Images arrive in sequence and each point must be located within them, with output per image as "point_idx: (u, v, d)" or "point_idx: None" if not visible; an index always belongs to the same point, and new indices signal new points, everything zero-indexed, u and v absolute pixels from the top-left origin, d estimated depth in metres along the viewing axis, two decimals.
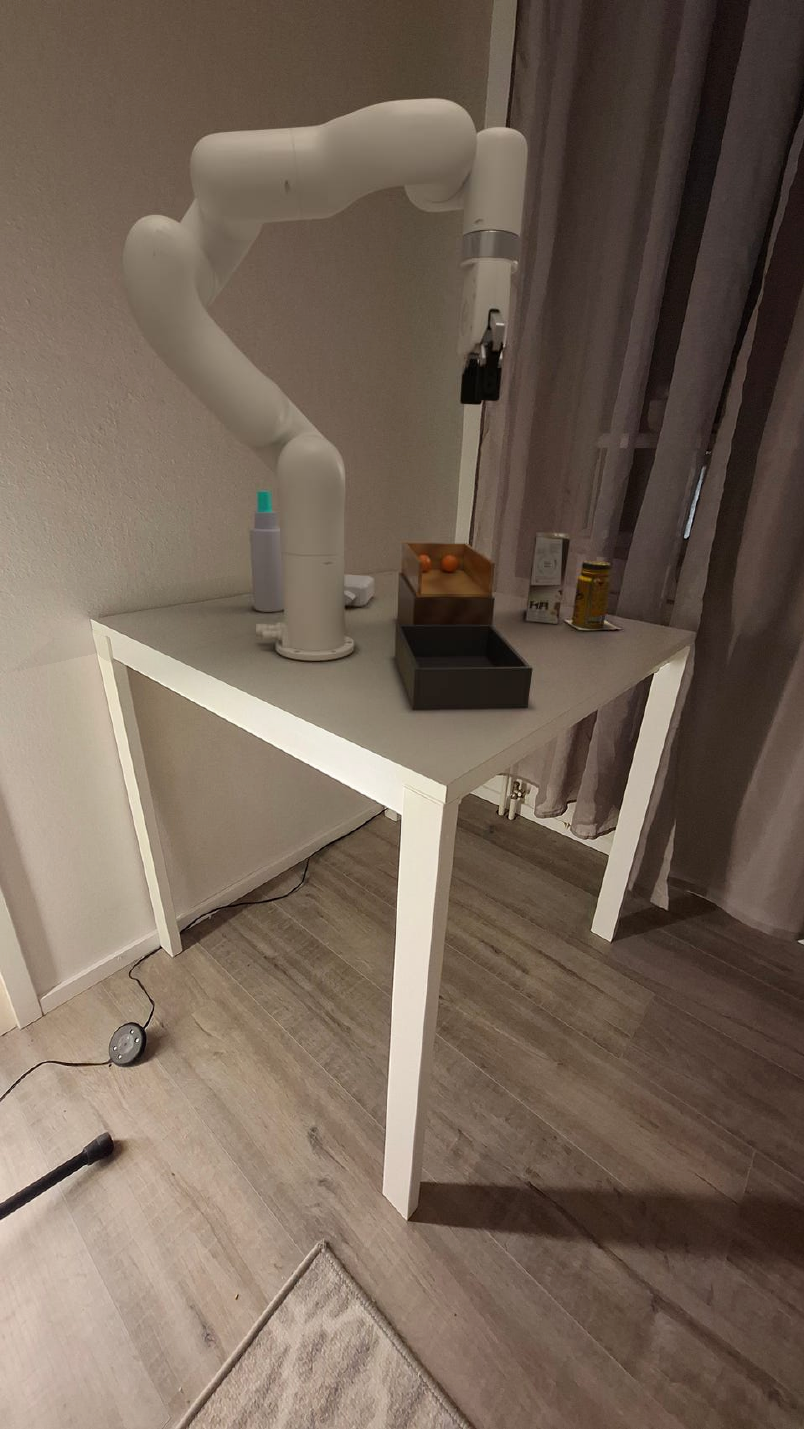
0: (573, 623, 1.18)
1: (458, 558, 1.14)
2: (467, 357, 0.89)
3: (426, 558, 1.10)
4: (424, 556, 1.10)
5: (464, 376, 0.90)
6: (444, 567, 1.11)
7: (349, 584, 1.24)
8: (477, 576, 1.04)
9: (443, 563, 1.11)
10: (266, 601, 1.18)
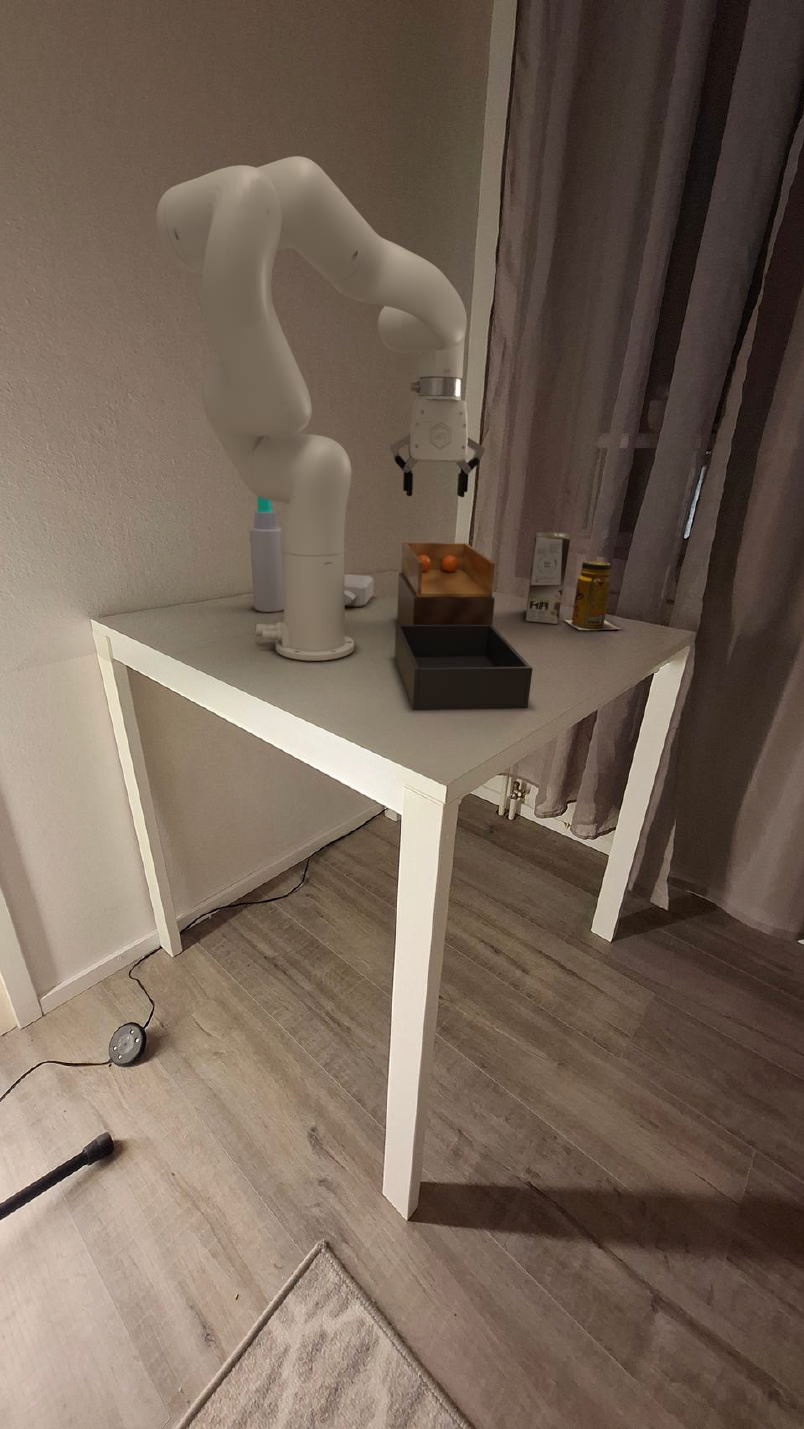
0: (573, 623, 1.18)
1: (458, 558, 1.14)
2: None
3: (426, 558, 1.10)
4: (424, 556, 1.10)
5: (412, 475, 1.10)
6: (444, 567, 1.11)
7: (349, 584, 1.24)
8: (477, 576, 1.04)
9: (443, 563, 1.11)
10: (266, 601, 1.18)
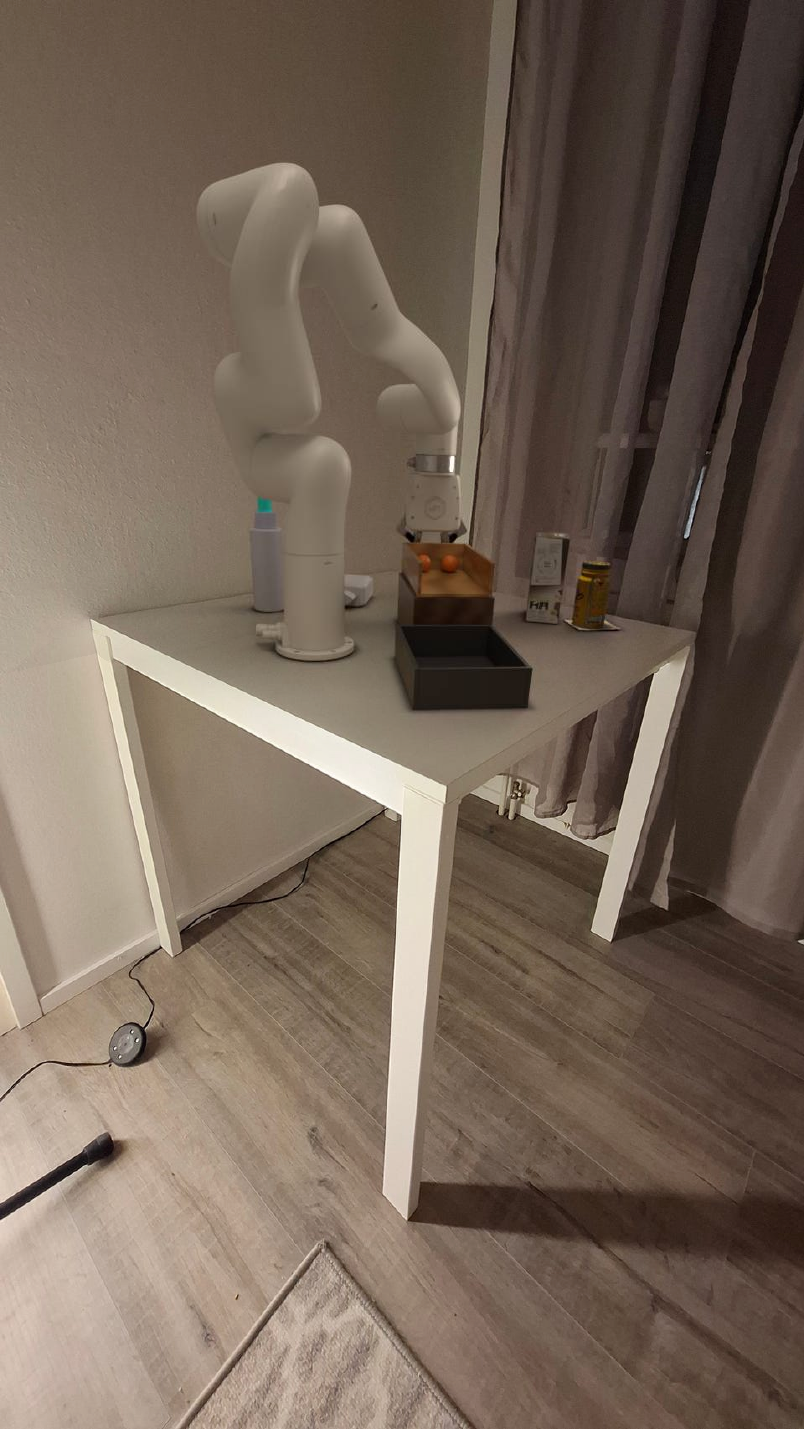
0: (573, 623, 1.18)
1: (458, 558, 1.14)
2: None
3: (426, 558, 1.10)
4: (424, 556, 1.11)
5: None
6: (444, 567, 1.11)
7: (349, 584, 1.24)
8: (477, 576, 1.04)
9: (443, 563, 1.11)
10: (266, 601, 1.18)
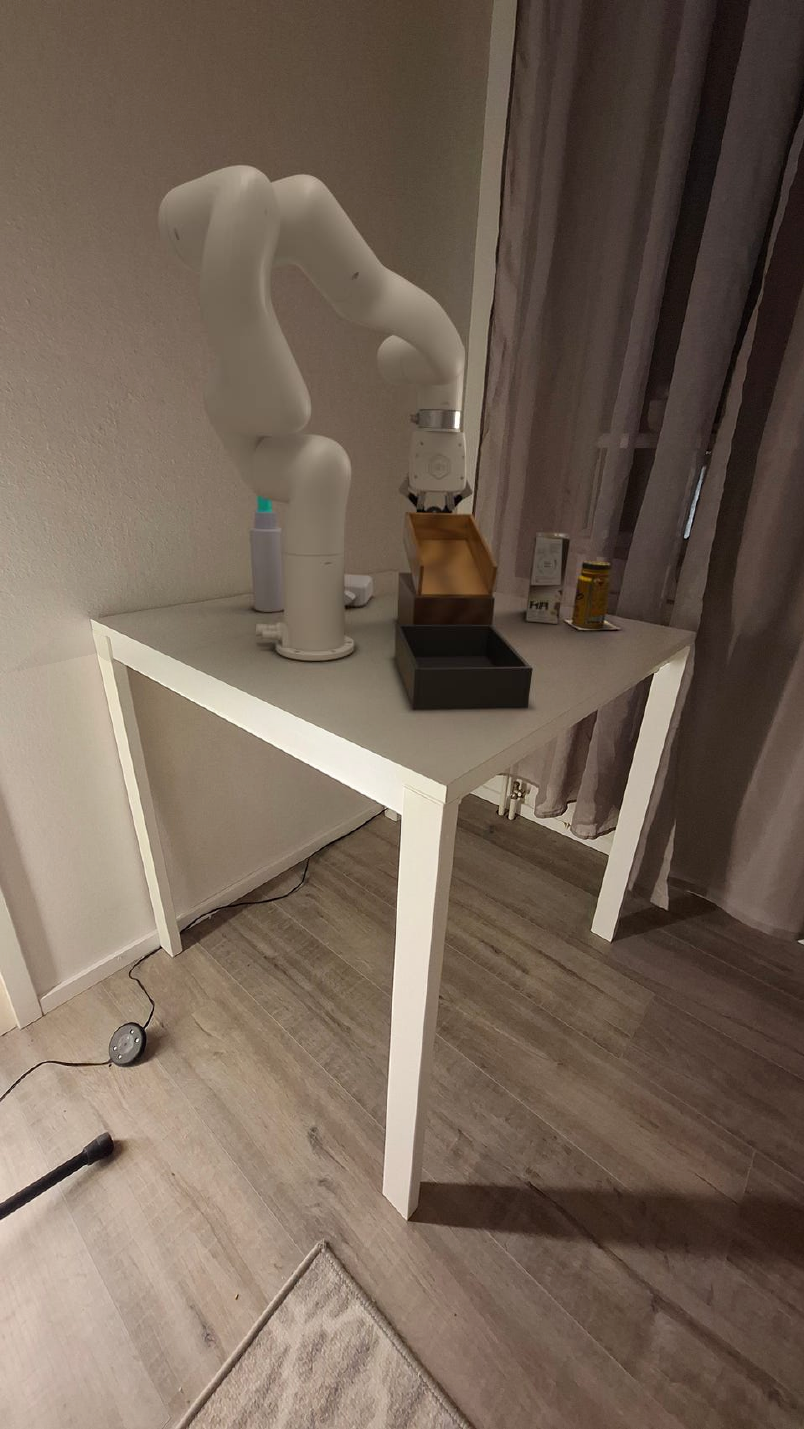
0: (573, 623, 1.18)
1: (462, 529, 1.10)
2: None
3: None
4: None
5: (425, 512, 1.11)
6: None
7: (349, 584, 1.24)
8: (479, 564, 1.02)
9: None
10: (266, 601, 1.18)
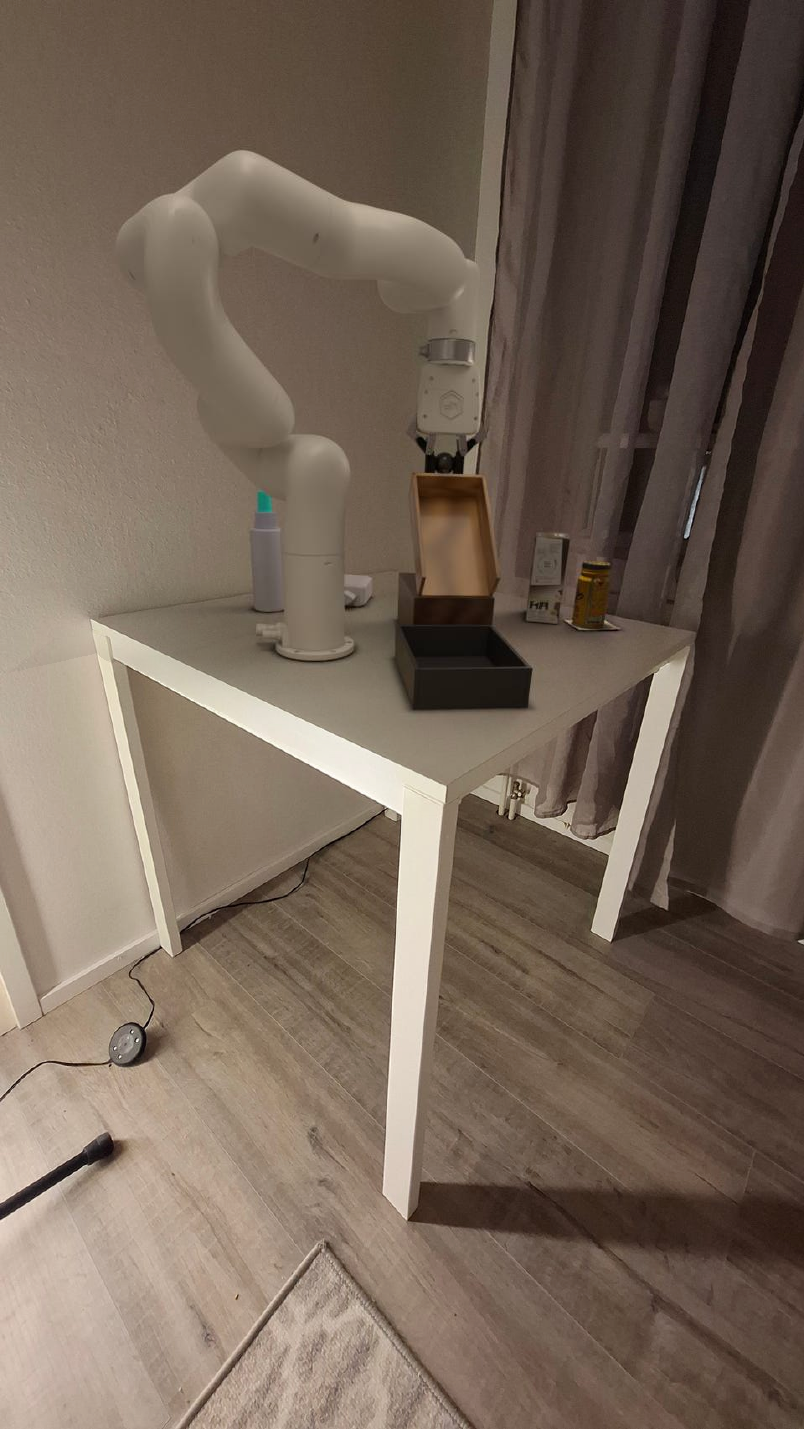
0: (573, 623, 1.18)
1: (473, 489, 1.02)
2: None
3: None
4: None
5: (435, 457, 1.01)
6: None
7: (349, 584, 1.24)
8: (485, 550, 0.99)
9: None
10: (266, 601, 1.18)
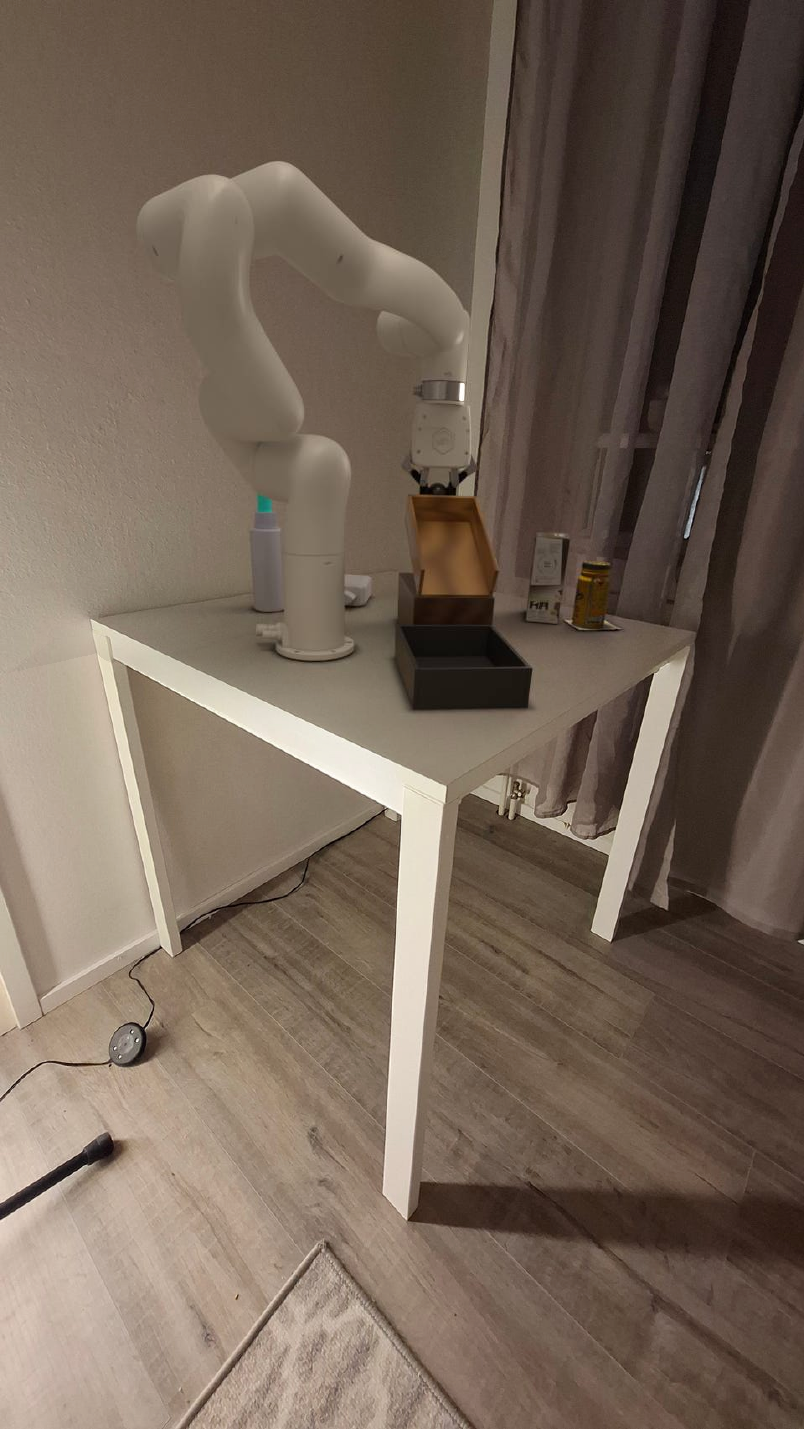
0: (573, 623, 1.18)
1: (466, 511, 1.07)
2: None
3: None
4: None
5: (428, 489, 1.08)
6: None
7: (349, 584, 1.24)
8: (481, 557, 1.01)
9: None
10: (266, 601, 1.18)
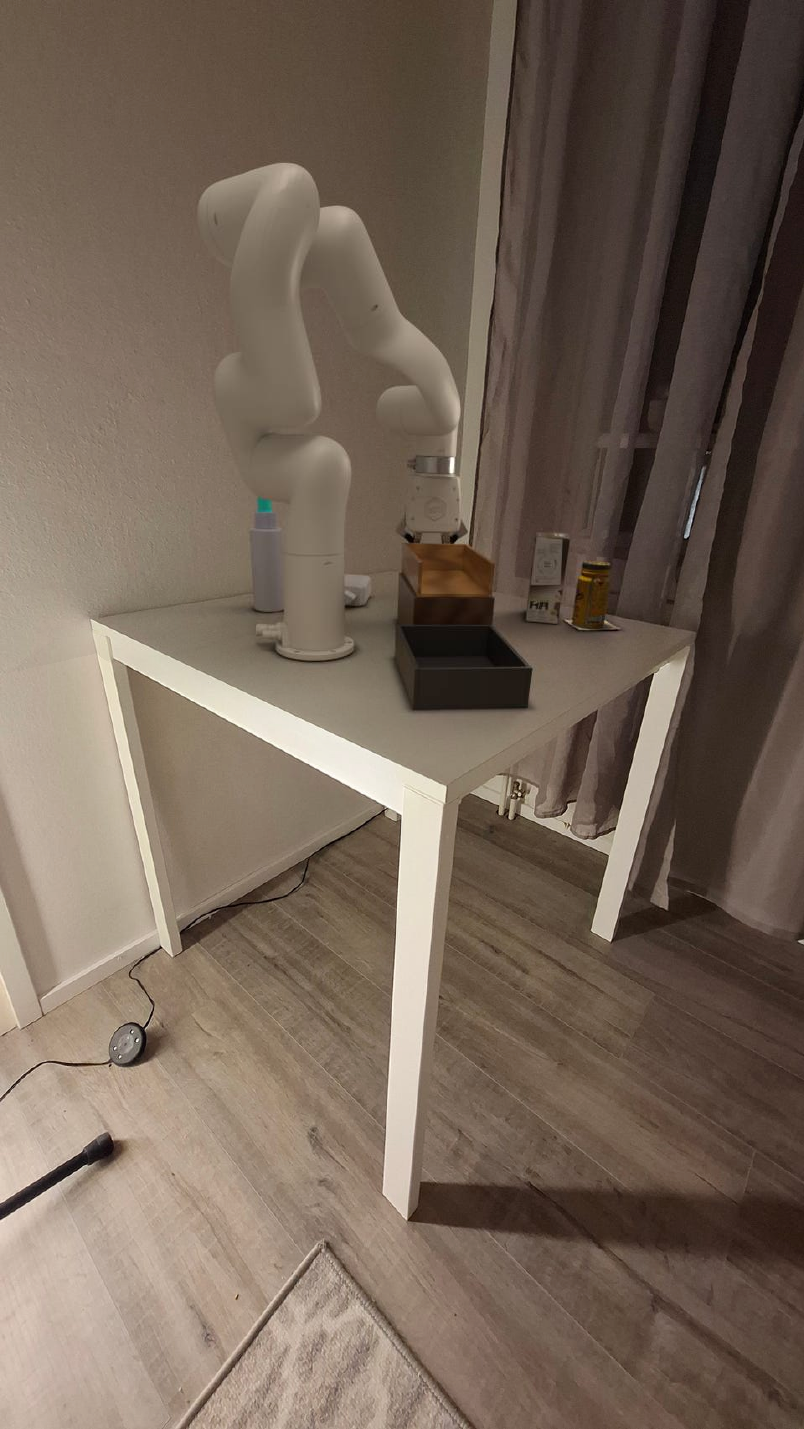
0: (573, 623, 1.18)
1: (458, 559, 1.14)
2: None
3: None
4: None
5: None
6: None
7: (348, 584, 1.24)
8: (477, 576, 1.04)
9: None
10: (266, 601, 1.18)
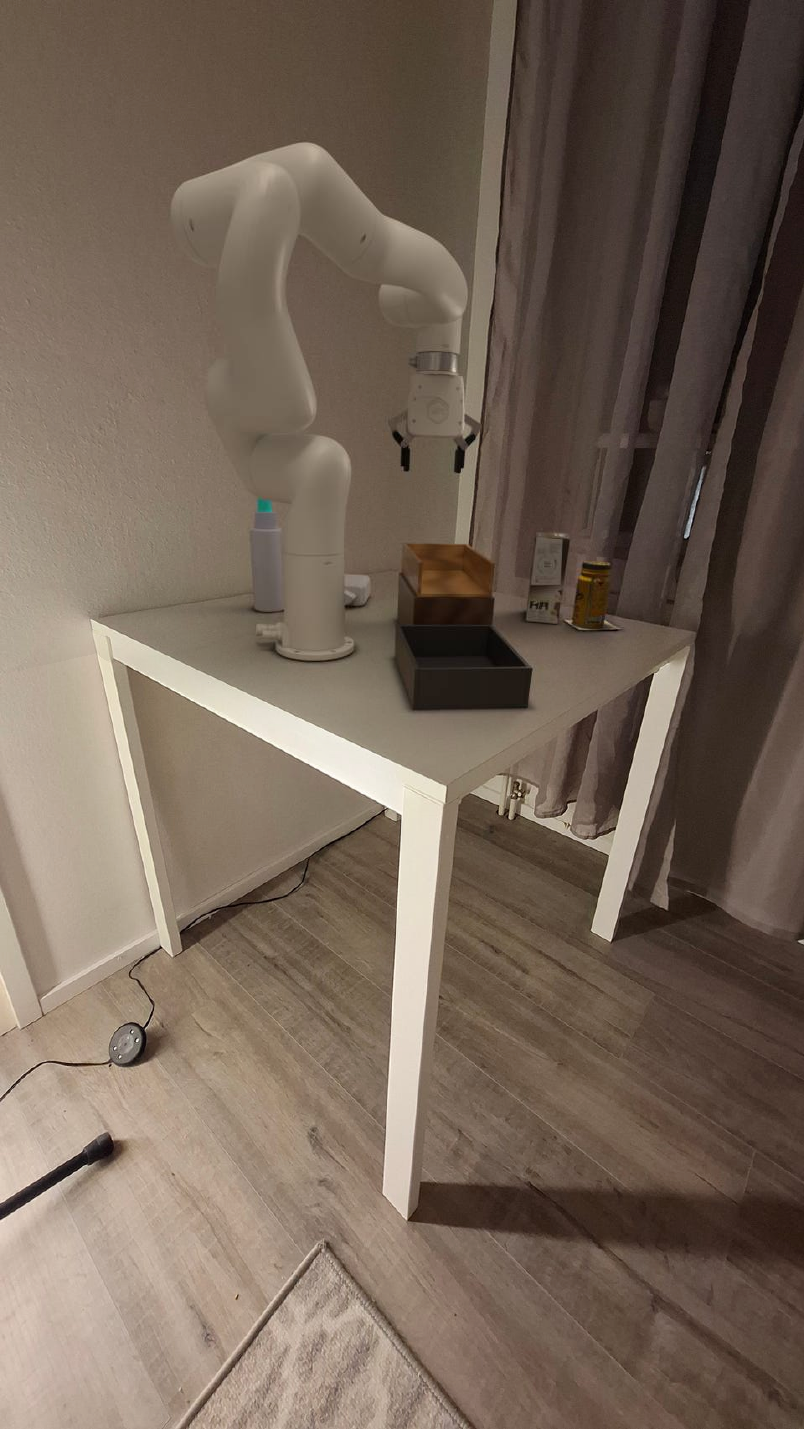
0: (573, 623, 1.18)
1: (458, 559, 1.14)
2: (414, 436, 1.10)
3: None
4: None
5: (409, 450, 1.11)
6: None
7: (348, 584, 1.24)
8: (477, 576, 1.04)
9: None
10: (266, 601, 1.18)
